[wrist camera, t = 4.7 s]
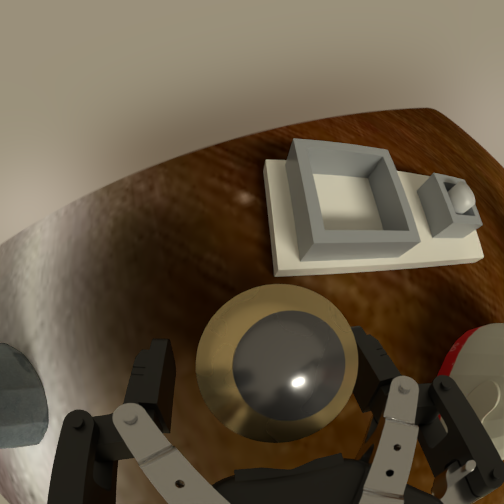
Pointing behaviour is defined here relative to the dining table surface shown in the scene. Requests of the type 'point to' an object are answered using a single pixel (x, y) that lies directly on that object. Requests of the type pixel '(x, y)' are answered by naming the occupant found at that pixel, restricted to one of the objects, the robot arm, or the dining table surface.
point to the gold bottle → (277, 363)
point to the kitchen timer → (481, 376)
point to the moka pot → (20, 401)
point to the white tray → (364, 213)
